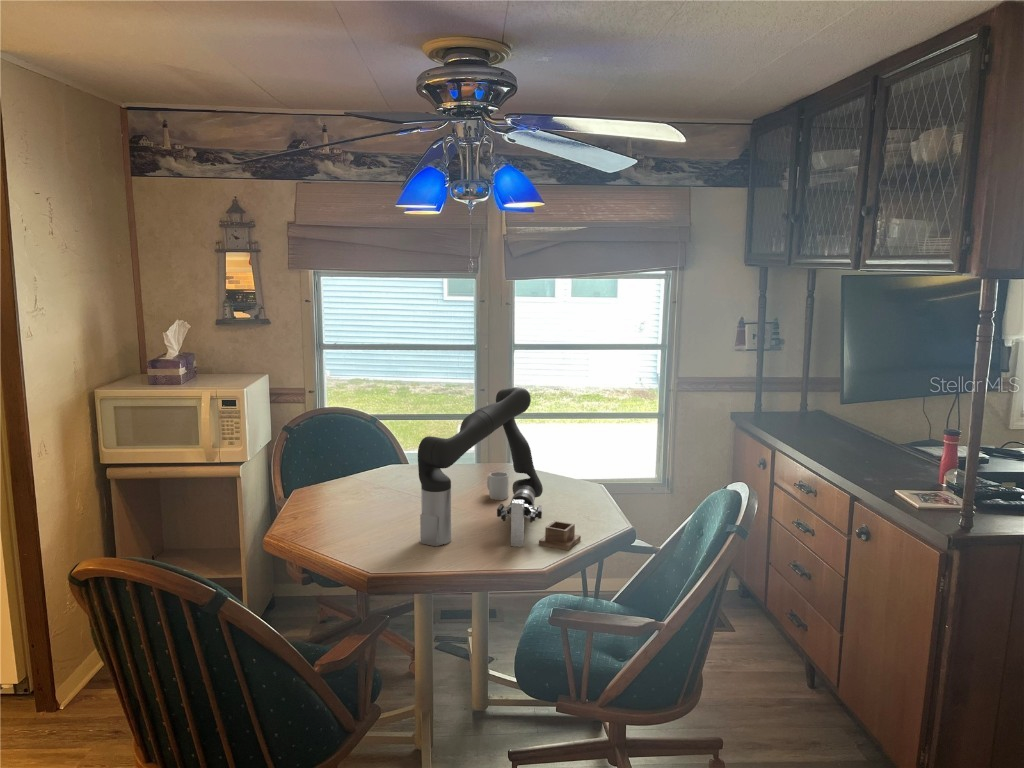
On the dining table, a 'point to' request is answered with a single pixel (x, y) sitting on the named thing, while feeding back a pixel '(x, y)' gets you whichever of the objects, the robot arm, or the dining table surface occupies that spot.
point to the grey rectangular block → (517, 523)
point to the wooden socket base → (560, 536)
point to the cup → (498, 485)
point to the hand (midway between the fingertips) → (517, 518)
